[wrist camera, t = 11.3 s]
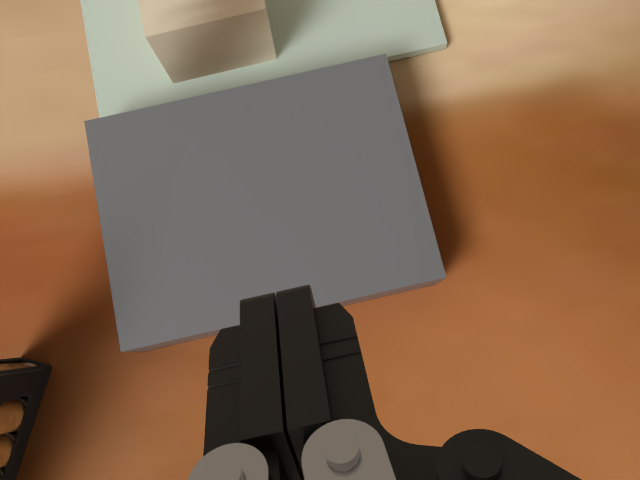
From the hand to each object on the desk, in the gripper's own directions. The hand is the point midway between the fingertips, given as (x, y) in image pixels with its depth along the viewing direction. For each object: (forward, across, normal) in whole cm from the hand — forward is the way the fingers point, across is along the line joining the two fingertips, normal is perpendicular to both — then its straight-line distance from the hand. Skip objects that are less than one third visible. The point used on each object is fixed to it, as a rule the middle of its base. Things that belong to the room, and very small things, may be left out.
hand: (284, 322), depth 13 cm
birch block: (+22, +2, 0) cm, 22 cm away
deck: (+18, +2, +8) cm, 20 cm away
